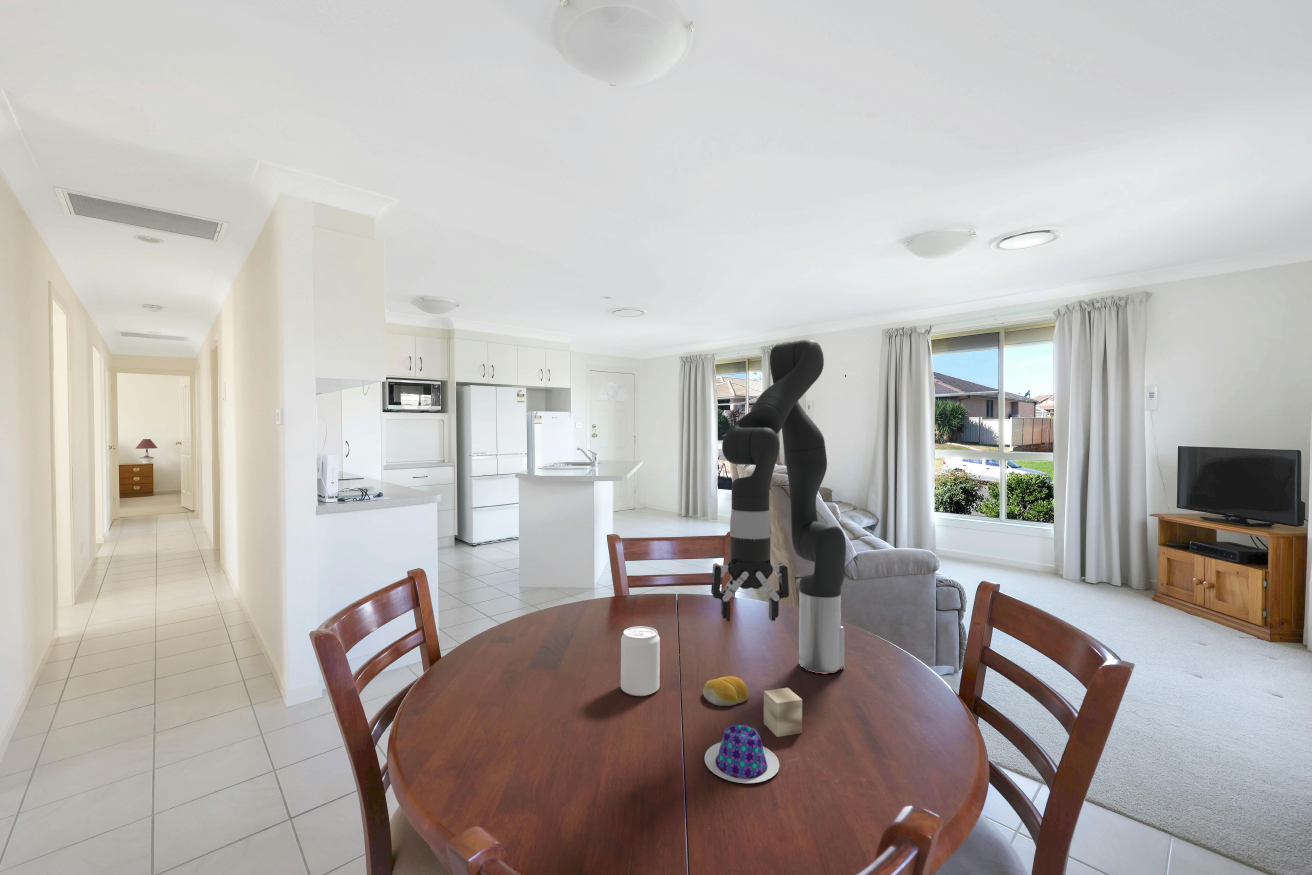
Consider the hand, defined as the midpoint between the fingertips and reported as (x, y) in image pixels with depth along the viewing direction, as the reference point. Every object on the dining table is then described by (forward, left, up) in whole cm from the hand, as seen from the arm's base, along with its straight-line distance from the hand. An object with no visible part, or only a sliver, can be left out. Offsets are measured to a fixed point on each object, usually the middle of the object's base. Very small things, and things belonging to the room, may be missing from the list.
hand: (749, 619), depth 104 cm
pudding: (+8, +13, -19) cm, 24 cm away
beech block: (-4, +5, -19) cm, 20 cm away
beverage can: (+17, -17, -19) cm, 31 cm away
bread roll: (+1, -9, -19) cm, 21 cm away
